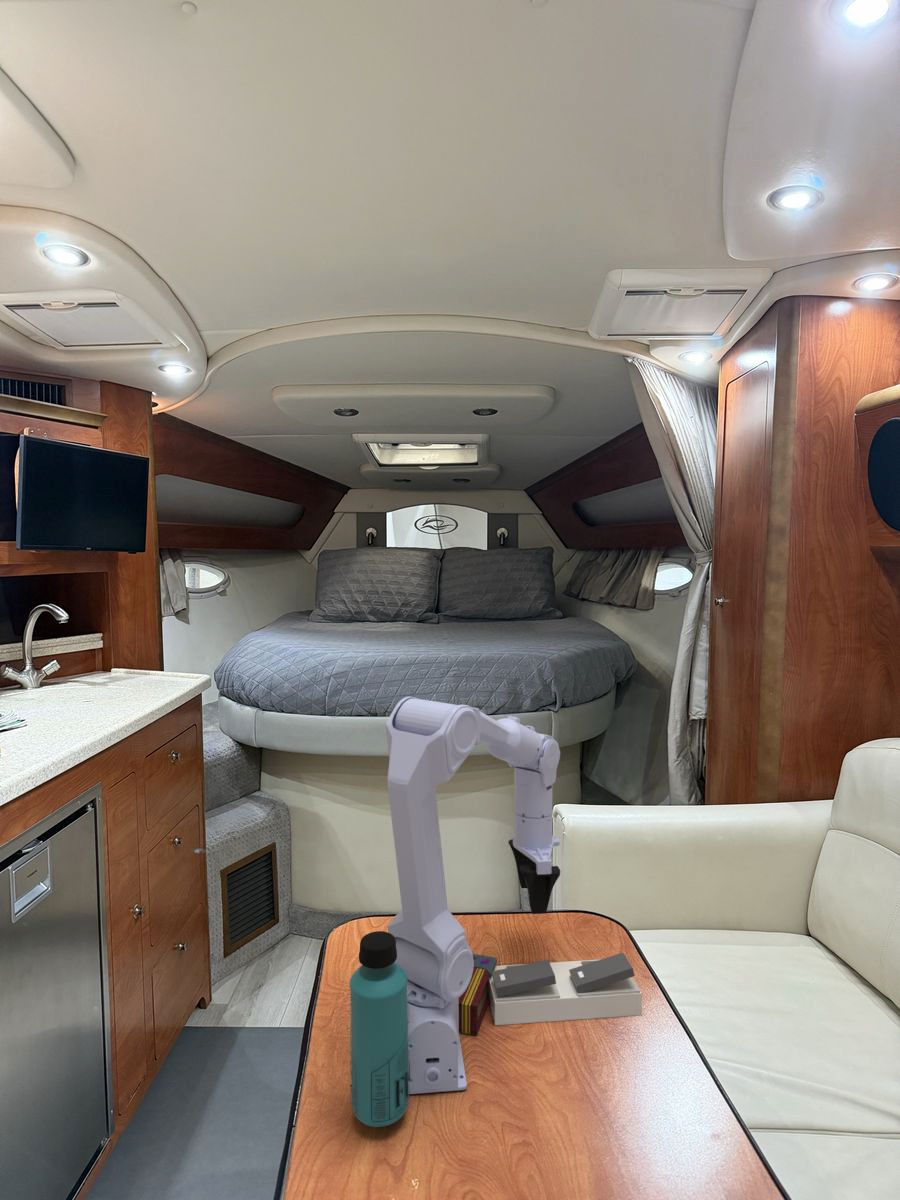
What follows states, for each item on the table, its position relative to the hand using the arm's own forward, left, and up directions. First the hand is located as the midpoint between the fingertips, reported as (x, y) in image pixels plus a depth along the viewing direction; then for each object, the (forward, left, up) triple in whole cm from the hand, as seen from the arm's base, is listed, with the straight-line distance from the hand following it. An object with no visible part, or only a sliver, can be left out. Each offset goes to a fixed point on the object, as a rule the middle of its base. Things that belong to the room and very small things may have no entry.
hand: (532, 899), depth 99 cm
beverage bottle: (-26, +23, -10) cm, 36 cm away
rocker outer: (-11, -8, -7) cm, 15 cm away
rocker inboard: (-11, +3, -7) cm, 13 cm away
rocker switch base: (-9, -2, -10) cm, 14 cm away
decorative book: (-7, +16, -10) cm, 20 cm away
